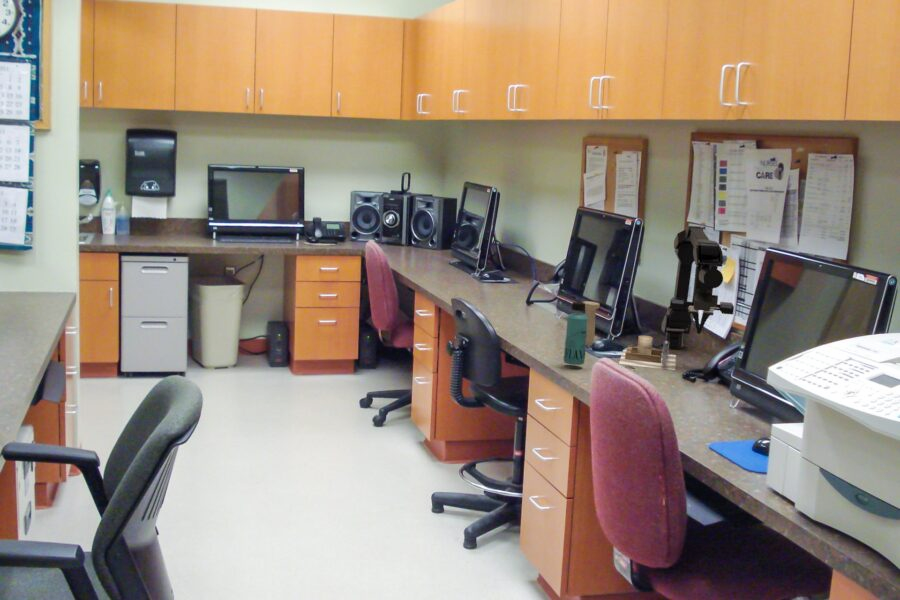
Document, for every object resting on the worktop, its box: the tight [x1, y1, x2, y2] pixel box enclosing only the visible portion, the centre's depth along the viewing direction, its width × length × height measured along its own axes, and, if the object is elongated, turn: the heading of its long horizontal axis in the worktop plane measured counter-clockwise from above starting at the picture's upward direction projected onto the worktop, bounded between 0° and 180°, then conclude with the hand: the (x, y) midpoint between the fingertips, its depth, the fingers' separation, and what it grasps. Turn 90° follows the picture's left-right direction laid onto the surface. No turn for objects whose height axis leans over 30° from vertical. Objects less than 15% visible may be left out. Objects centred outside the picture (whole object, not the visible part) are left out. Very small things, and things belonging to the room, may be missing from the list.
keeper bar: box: [662, 340, 670, 365], centre depth 307 cm, size 21×2×4 cm, turn 166°
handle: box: [582, 300, 601, 349], centre depth 326 cm, size 5×6×15 cm
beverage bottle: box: [563, 301, 588, 366], centre depth 296 cm, size 6×7×20 cm
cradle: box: [618, 345, 677, 371], centre depth 309 cm, size 22×17×3 cm
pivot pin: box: [637, 335, 654, 355], centre depth 312 cm, size 4×4×6 cm
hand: (698, 333), depth 299 cm, fingers closed
